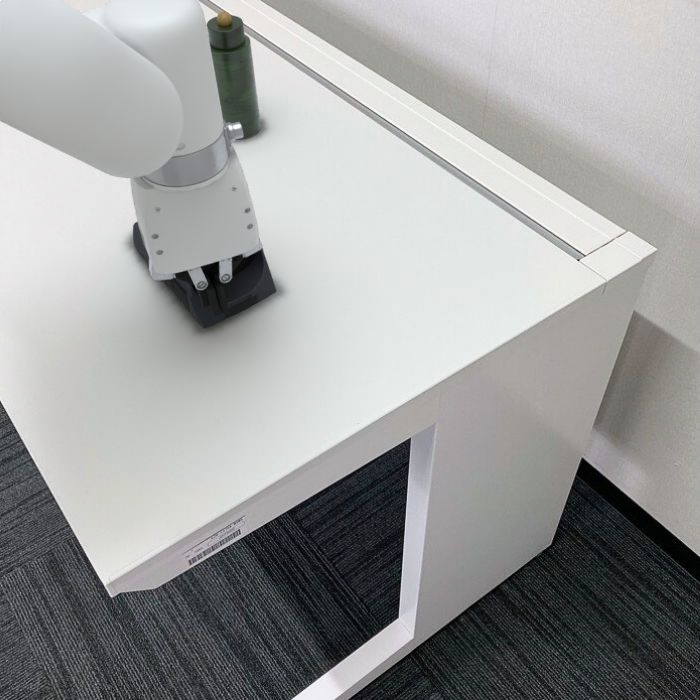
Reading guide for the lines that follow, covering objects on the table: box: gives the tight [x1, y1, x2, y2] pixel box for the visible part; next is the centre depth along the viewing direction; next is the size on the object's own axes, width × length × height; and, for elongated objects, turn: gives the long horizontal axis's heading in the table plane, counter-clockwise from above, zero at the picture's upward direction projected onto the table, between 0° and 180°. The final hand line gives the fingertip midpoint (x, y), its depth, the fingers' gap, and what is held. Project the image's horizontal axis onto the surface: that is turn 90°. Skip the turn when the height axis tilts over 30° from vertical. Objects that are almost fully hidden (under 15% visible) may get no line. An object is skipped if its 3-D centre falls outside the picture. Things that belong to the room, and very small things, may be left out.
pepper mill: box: [206, 11, 262, 140], centre depth 97 cm, size 6×6×16 cm
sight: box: [132, 220, 277, 329], centre depth 81 cm, size 9×18×10 cm, turn 36°
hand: (217, 305), depth 77 cm, fingers closed
